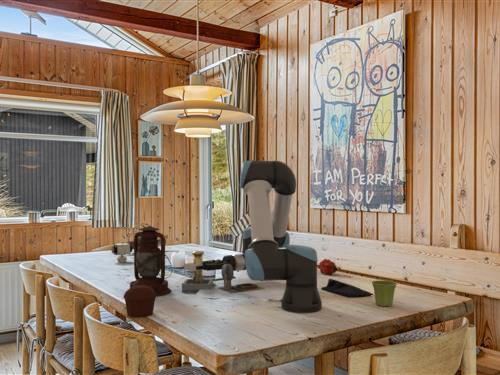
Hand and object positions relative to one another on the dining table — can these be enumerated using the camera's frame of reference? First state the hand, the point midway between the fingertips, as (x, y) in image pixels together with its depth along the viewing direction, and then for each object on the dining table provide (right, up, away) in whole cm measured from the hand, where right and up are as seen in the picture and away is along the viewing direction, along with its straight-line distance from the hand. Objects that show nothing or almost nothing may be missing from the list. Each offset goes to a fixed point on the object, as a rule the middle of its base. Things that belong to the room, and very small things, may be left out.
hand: (186, 267), depth 214 cm
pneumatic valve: (-50, -10, +83) cm, 97 cm away
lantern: (-16, -10, -3) cm, 19 cm away
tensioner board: (+24, -10, -2) cm, 26 cm away
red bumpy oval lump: (+68, -10, +41) cm, 80 cm away
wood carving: (-45, -10, +127) cm, 135 cm away
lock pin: (+5, -7, +3) cm, 9 cm away
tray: (+5, -10, +3) cm, 12 cm away
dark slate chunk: (+70, -11, -2) cm, 70 cm away
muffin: (-11, -10, -39) cm, 42 cm away
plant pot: (+79, -10, -26) cm, 84 cm away
